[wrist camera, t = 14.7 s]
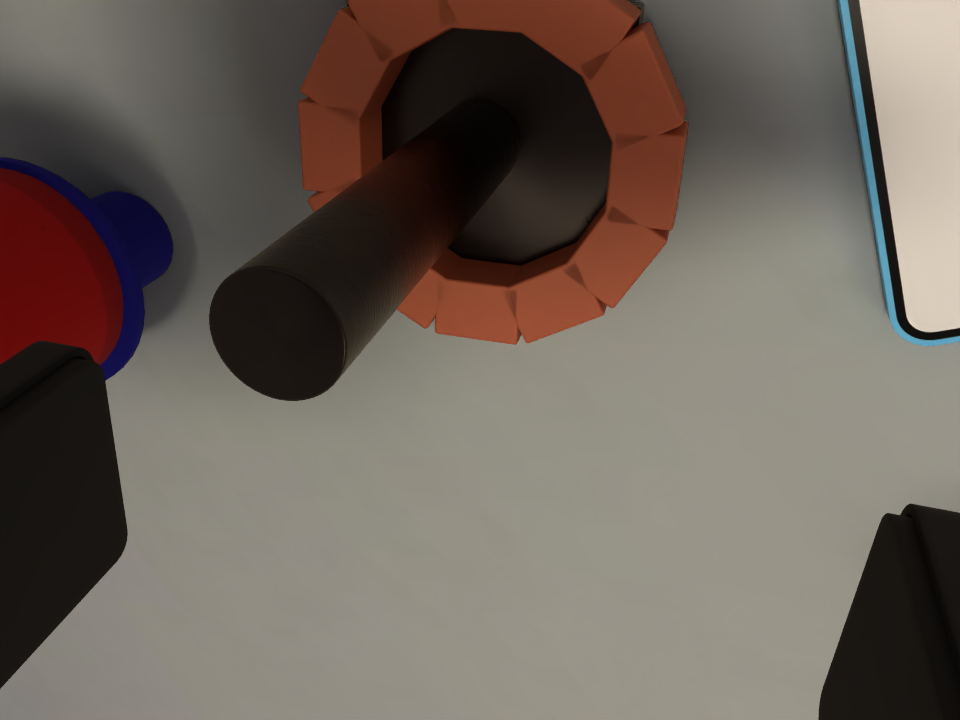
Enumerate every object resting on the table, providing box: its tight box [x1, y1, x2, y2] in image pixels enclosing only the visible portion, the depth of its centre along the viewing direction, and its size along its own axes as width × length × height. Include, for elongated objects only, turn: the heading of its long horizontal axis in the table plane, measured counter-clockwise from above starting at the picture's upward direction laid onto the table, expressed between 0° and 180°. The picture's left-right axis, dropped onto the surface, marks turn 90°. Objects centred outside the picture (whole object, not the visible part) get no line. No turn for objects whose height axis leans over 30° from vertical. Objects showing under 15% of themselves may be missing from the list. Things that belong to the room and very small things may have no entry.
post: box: [209, 0, 644, 401], centre depth 21 cm, size 8×8×14 cm
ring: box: [298, 0, 689, 344], centre depth 25 cm, size 10×10×2 cm
